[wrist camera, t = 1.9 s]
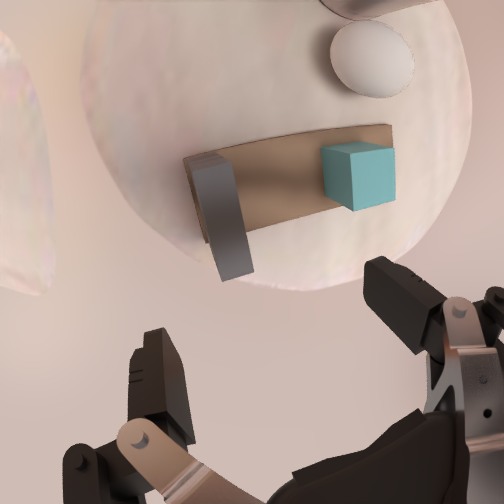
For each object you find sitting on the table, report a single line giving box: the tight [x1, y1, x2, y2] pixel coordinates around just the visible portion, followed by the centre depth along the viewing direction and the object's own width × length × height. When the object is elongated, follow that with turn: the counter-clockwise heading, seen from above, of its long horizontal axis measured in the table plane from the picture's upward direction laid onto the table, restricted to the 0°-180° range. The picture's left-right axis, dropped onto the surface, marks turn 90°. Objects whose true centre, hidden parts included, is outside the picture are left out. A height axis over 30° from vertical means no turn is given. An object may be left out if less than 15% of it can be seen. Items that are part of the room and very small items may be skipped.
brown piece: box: [183, 124, 393, 282], centre depth 23 cm, size 8×22×8 cm, turn 101°
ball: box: [330, 20, 415, 98], centre depth 19 cm, size 8×8×8 cm
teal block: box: [320, 141, 395, 211], centre depth 24 cm, size 5×5×5 cm
